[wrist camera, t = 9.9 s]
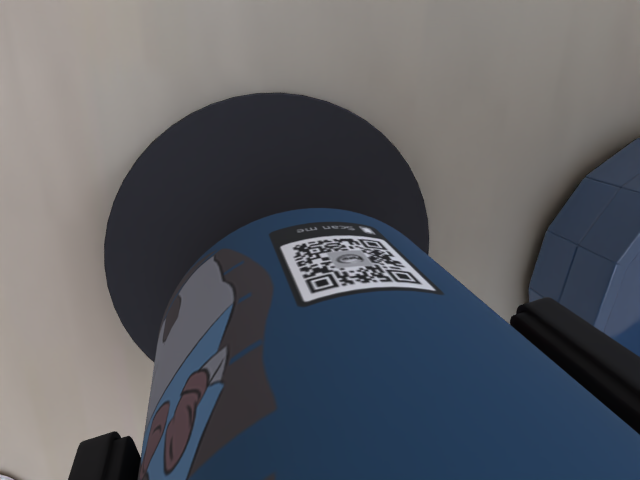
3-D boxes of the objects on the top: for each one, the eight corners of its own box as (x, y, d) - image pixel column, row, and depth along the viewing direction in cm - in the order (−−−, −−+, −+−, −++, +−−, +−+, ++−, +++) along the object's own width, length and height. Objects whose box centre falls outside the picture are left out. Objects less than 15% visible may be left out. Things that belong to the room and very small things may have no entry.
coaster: (400, 57, 17) (405, 57, 16) (442, 345, 21) (446, 350, 20) (51, 139, 15) (47, 141, 15) (166, 431, 19) (165, 438, 19)
